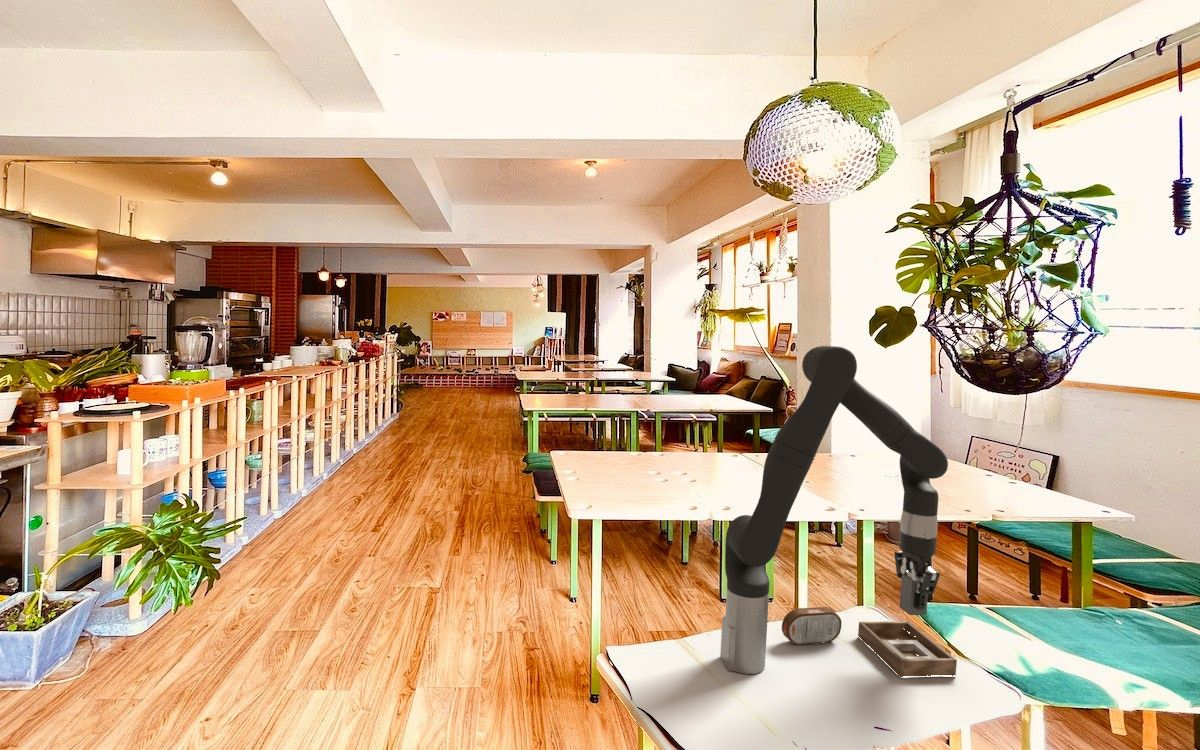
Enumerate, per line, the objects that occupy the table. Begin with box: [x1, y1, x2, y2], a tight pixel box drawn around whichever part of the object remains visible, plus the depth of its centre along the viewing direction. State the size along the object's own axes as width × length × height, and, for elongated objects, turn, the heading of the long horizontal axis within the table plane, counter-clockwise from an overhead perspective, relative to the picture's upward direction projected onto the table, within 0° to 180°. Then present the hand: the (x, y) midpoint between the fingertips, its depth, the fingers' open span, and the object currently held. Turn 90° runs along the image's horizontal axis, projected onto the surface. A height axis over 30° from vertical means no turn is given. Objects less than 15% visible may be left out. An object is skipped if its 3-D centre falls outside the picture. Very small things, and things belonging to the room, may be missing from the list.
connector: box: [899, 571, 929, 616], centre depth 140 cm, size 4×4×9 cm
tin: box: [781, 606, 842, 646], centre depth 148 cm, size 15×3×8 cm, turn 102°
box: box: [857, 620, 958, 677], centre depth 143 cm, size 13×18×4 cm
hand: (913, 603), depth 140 cm, fingers closed on connector, 4 cm apart
